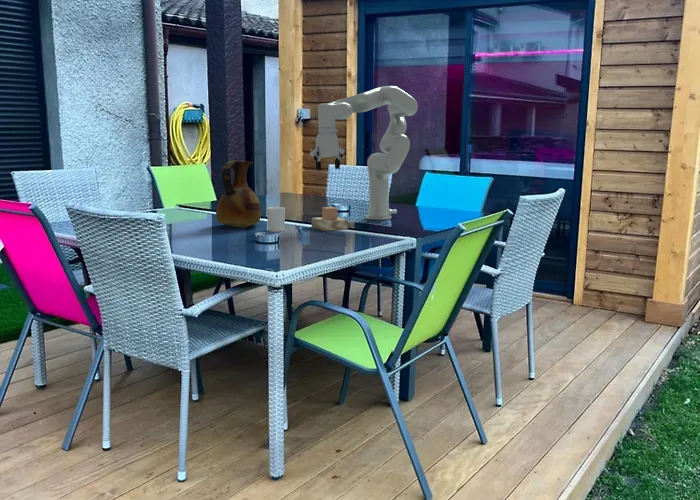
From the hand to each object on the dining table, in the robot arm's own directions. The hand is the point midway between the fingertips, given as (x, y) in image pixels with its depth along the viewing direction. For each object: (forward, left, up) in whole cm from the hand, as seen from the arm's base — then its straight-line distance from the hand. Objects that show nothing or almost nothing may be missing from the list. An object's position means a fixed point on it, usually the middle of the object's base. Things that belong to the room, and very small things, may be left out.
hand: (328, 169), depth 307 cm
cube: (+4, +10, -21) cm, 24 cm away
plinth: (+4, +10, -25) cm, 27 cm away
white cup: (+28, +6, -25) cm, 38 cm away
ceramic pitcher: (+39, -11, -25) cm, 48 cm away
